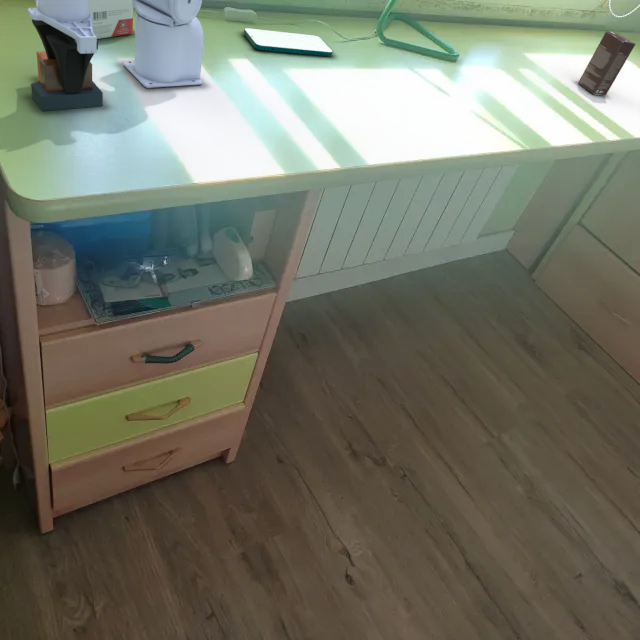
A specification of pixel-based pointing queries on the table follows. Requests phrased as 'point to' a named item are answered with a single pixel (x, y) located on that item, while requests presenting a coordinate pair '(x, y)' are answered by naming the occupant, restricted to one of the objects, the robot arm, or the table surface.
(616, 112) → the table surface
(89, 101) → the stepped two-tone block
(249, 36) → the smartphone
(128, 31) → the ink box
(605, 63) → the box
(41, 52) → the reddish-orange block
